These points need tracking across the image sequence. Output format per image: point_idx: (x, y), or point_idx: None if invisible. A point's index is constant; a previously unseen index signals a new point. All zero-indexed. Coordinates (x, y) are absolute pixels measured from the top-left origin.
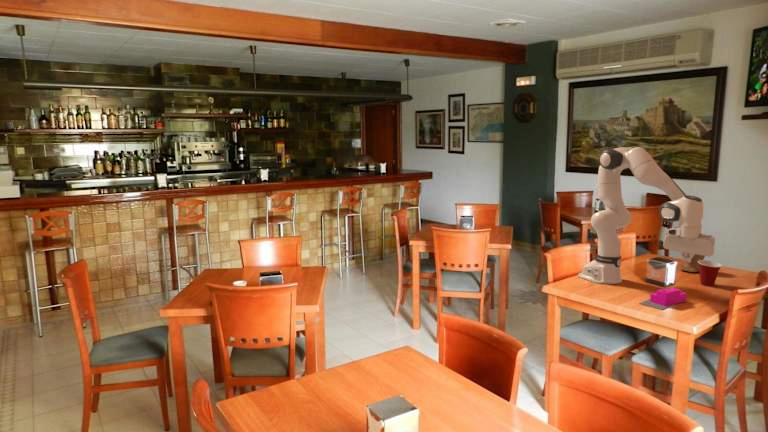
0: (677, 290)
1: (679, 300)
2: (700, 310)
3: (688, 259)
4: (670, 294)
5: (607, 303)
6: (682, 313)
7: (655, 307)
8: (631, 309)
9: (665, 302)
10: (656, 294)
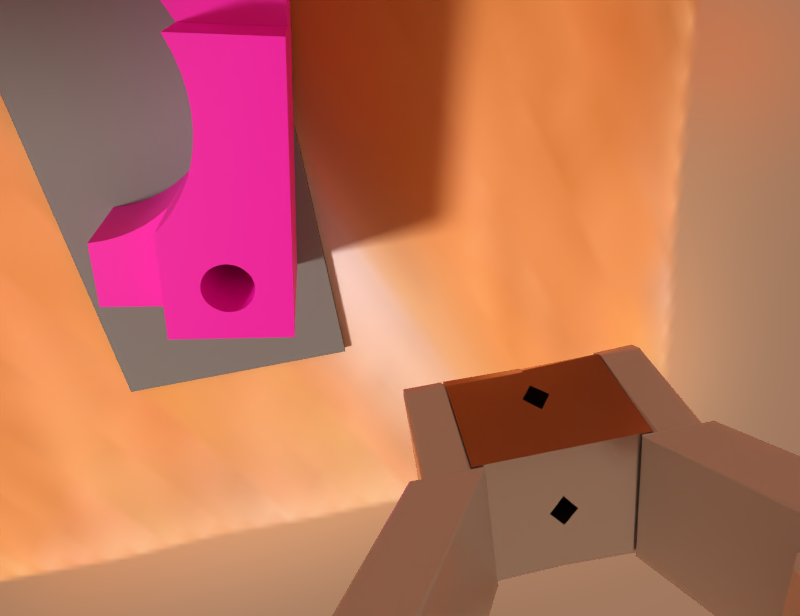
0: (285, 112)
1: (289, 21)
2: (549, 41)
3: (641, 532)
4: (292, 241)
5: (27, 569)
6: (488, 276)
7: (281, 361)
8: (217, 521)
9: (296, 278)
10: (145, 272)
